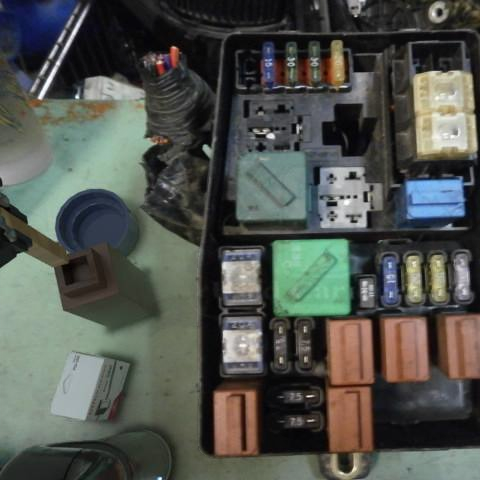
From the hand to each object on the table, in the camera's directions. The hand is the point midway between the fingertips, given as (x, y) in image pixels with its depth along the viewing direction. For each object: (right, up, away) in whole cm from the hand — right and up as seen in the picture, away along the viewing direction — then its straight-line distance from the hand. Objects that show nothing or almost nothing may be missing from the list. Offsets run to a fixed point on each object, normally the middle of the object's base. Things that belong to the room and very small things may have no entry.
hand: (19, 235), depth 52 cm
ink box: (-3, -23, +29) cm, 37 cm away
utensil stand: (-1, -10, +33) cm, 35 cm away
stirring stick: (0, -2, +9) cm, 9 cm away
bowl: (-6, +1, +36) cm, 36 cm away
